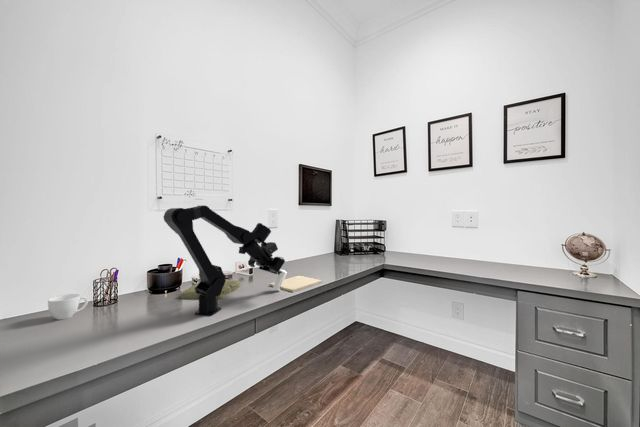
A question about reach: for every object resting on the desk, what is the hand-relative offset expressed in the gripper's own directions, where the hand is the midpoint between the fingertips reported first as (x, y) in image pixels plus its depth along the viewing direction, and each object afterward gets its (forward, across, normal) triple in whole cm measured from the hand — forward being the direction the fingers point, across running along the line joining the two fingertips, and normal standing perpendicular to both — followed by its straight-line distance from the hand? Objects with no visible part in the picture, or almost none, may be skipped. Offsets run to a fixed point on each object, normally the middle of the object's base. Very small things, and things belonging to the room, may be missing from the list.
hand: (276, 273), depth 119 cm
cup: (-40, +34, +51) cm, 73 cm away
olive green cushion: (-7, +21, +19) cm, 29 cm away
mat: (+15, +1, -4) cm, 15 cm away
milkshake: (+5, 0, +6) cm, 7 cm away
